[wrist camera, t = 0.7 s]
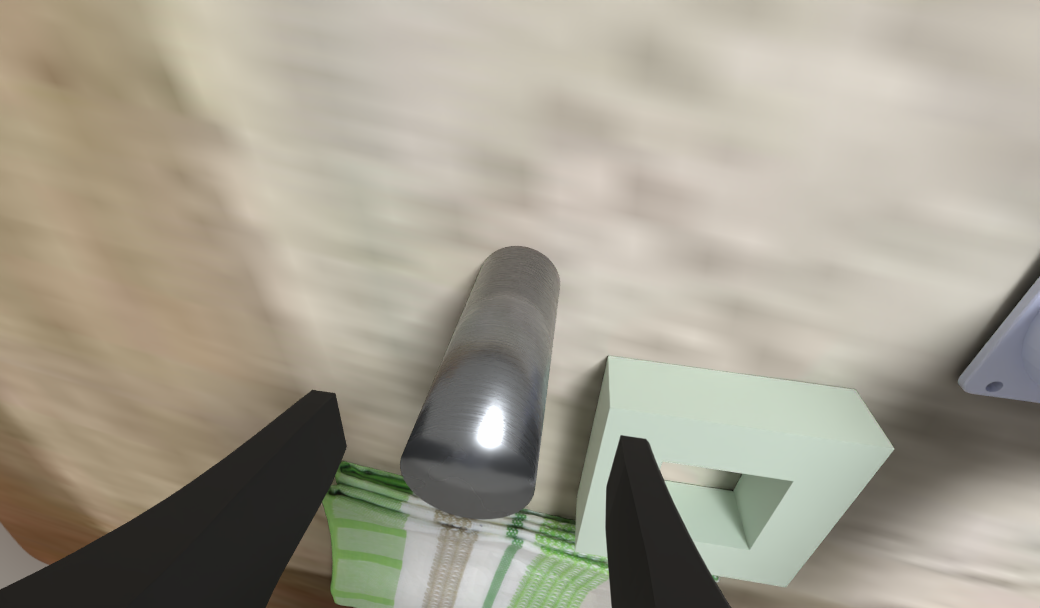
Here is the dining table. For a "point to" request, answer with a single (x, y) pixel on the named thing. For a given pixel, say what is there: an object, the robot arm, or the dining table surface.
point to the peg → (489, 394)
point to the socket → (736, 460)
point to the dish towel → (451, 553)
